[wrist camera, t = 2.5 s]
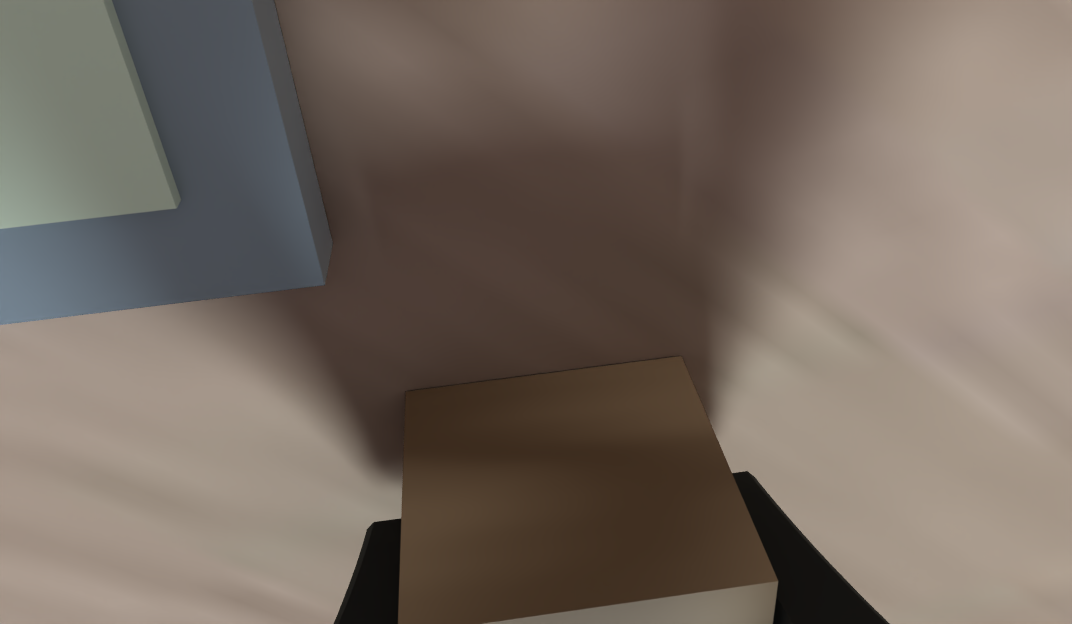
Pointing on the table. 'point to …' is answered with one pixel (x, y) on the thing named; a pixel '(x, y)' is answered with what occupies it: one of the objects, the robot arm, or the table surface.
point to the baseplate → (150, 157)
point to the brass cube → (575, 505)
